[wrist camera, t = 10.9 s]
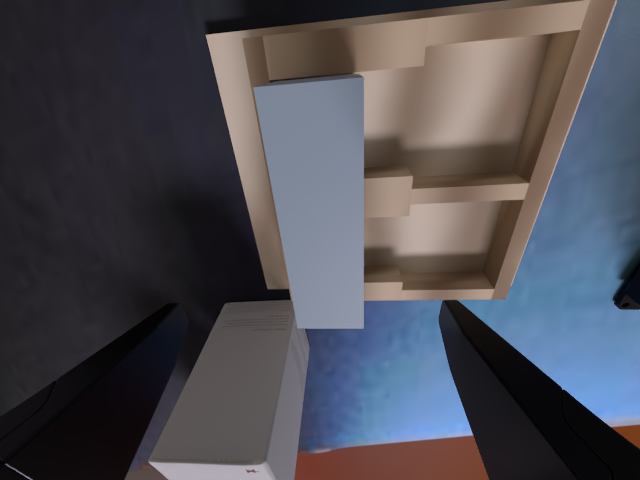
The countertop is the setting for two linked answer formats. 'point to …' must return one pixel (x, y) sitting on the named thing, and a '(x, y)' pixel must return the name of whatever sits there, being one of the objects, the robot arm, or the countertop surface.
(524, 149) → the divided wooden tray
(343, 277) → the grey rectangular block
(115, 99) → the countertop surface
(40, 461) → the robot arm
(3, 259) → the countertop surface
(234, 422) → the supplement box
